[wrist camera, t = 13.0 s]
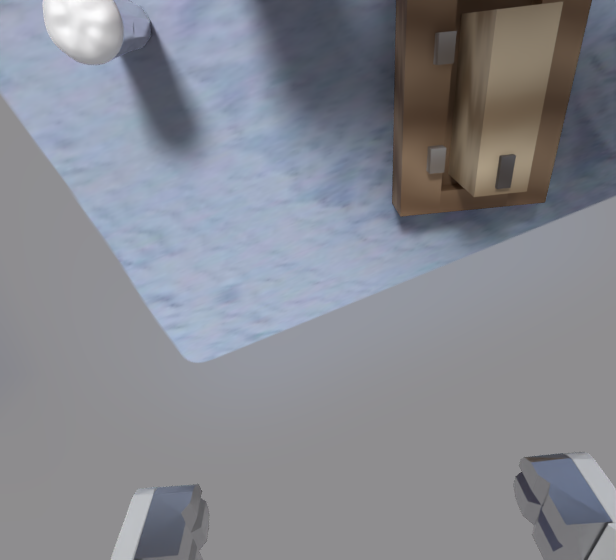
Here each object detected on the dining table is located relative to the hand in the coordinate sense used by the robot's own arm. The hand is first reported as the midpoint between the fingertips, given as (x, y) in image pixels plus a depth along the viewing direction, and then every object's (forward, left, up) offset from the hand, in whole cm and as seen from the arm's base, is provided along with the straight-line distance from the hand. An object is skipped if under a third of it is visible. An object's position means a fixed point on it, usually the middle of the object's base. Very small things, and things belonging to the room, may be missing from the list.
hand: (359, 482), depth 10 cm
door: (-4, +14, -29) cm, 33 cm away
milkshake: (-12, -13, -31) cm, 36 cm away
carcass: (-4, +14, -31) cm, 34 cm away
